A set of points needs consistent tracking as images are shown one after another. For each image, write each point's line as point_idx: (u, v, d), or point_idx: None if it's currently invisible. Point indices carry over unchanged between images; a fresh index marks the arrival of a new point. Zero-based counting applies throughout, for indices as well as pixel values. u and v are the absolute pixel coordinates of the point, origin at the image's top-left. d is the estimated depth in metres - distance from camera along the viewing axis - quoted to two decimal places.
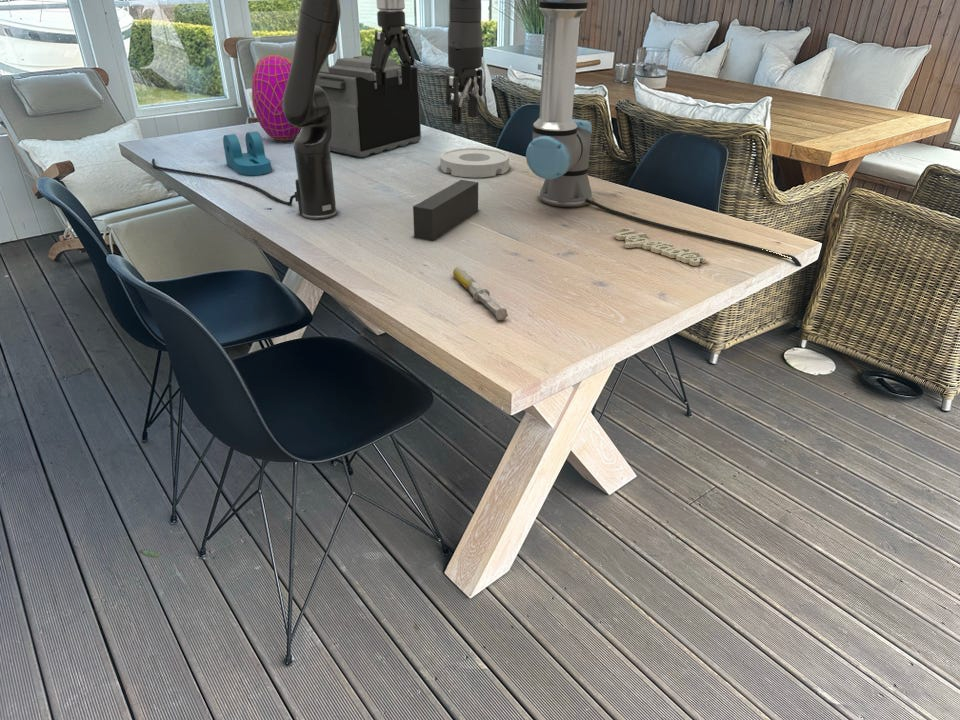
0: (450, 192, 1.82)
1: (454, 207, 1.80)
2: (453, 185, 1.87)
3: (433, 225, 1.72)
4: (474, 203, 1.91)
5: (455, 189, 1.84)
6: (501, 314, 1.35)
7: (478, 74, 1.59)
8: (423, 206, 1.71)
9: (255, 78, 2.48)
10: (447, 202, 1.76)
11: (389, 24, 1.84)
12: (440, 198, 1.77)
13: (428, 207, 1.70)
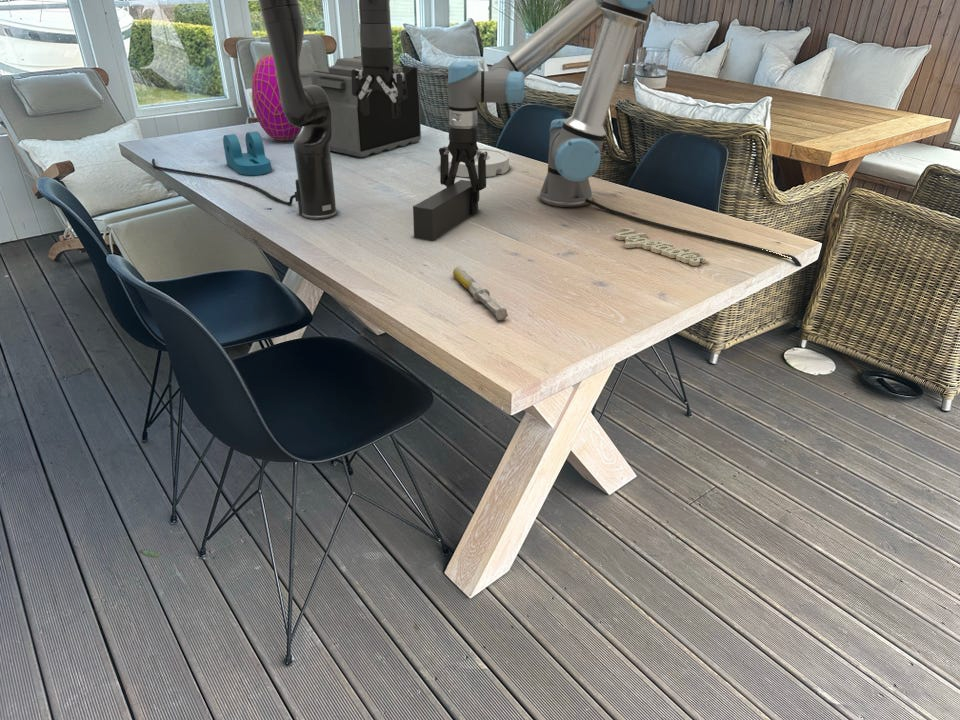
0: (450, 192, 1.82)
1: (454, 207, 1.80)
2: (453, 185, 1.87)
3: (433, 225, 1.72)
4: None
5: (455, 189, 1.84)
6: (501, 314, 1.35)
7: None
8: (423, 206, 1.71)
9: (255, 78, 2.48)
10: (447, 202, 1.76)
11: None
12: (440, 198, 1.77)
13: (428, 207, 1.70)
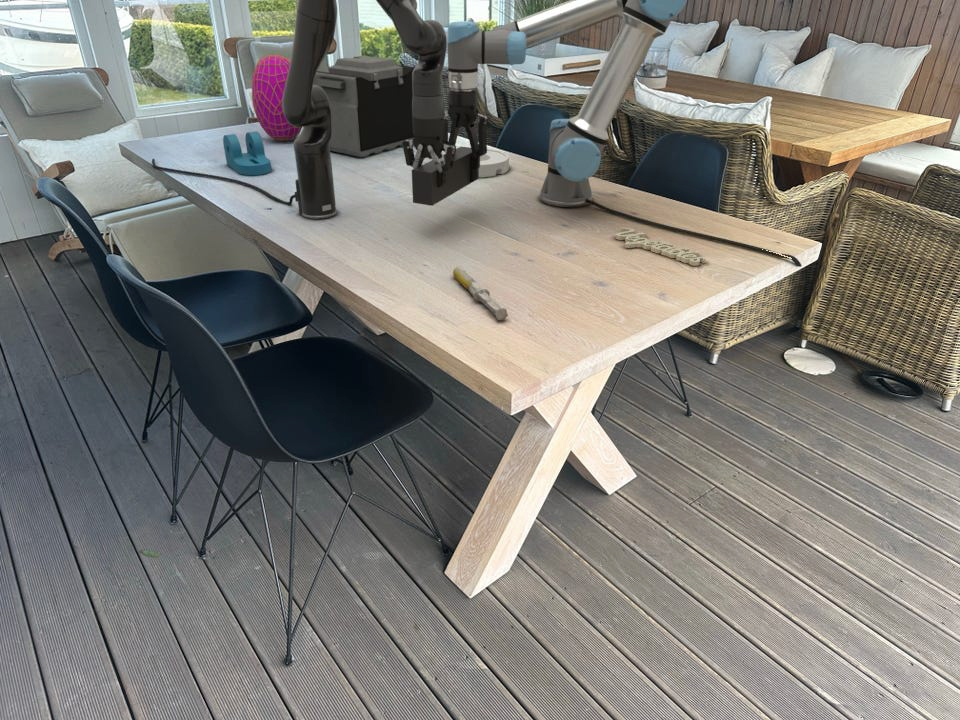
0: None
1: (454, 172, 1.75)
2: None
3: (432, 190, 1.67)
4: None
5: (455, 155, 1.79)
6: (501, 314, 1.35)
7: None
8: (422, 170, 1.67)
9: (255, 78, 2.48)
10: None
11: (477, 102, 1.77)
12: None
13: (427, 170, 1.66)
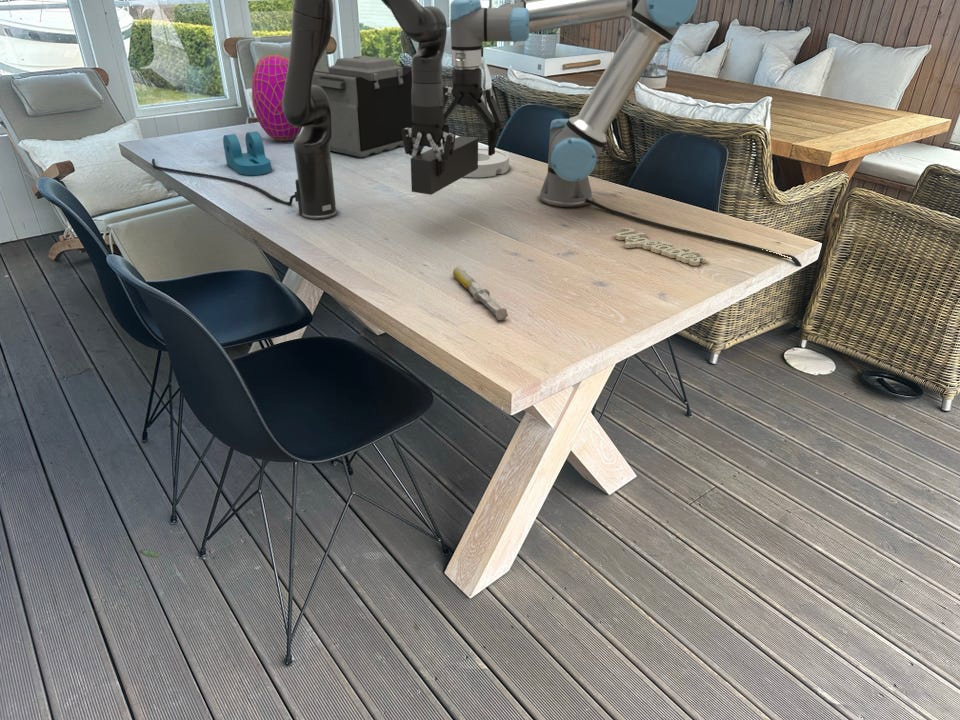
0: None
1: (453, 161, 1.74)
2: None
3: (431, 178, 1.66)
4: (473, 160, 1.85)
5: (454, 144, 1.78)
6: (501, 314, 1.35)
7: None
8: (421, 158, 1.65)
9: (255, 78, 2.48)
10: None
11: (481, 80, 1.76)
12: None
13: (426, 159, 1.65)
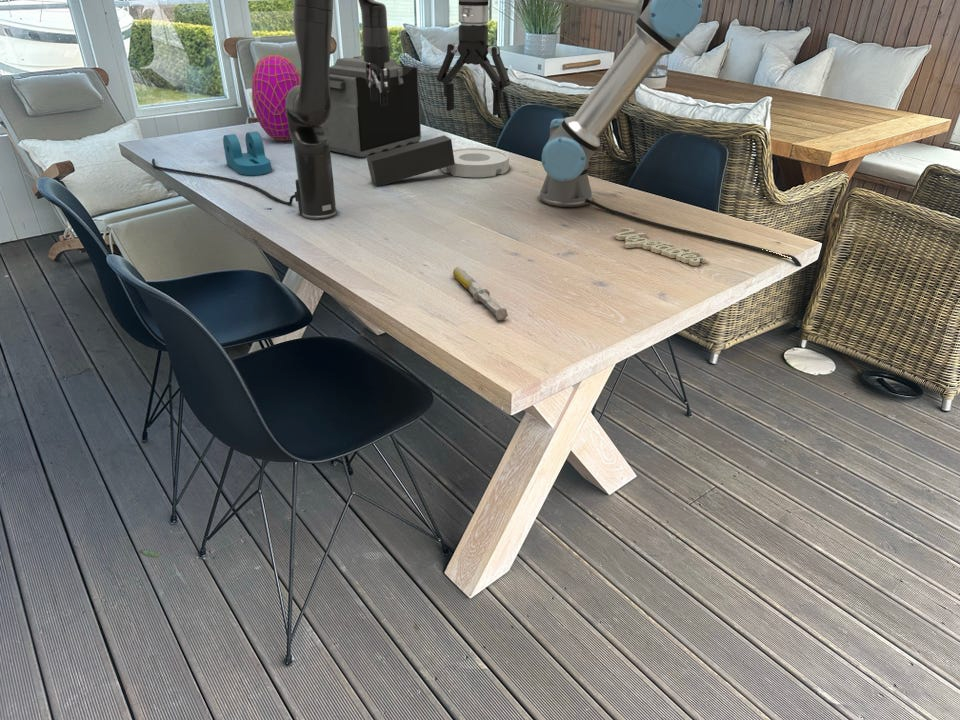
0: (414, 146, 2.15)
1: (409, 160, 2.14)
2: (428, 140, 2.18)
3: (376, 174, 2.11)
4: (445, 157, 2.18)
5: (422, 144, 2.15)
6: (501, 314, 1.35)
7: None
8: (372, 157, 2.11)
9: (255, 78, 2.48)
10: (396, 156, 2.11)
11: None
12: (395, 151, 2.13)
13: (373, 159, 2.10)
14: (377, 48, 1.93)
